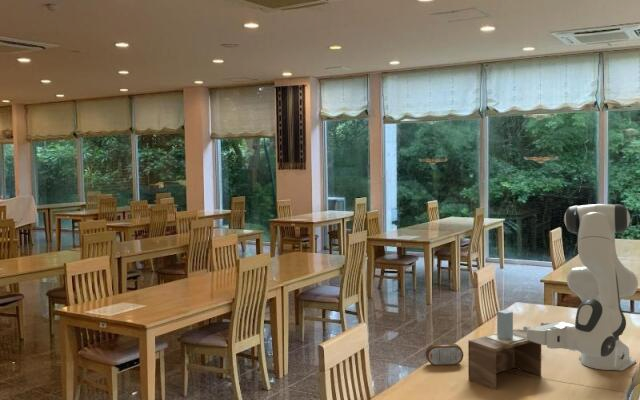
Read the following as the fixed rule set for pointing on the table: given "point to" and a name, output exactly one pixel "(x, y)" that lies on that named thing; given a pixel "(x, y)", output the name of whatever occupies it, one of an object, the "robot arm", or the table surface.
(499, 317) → the blue block
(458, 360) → the oval desk clock
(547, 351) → the table surface
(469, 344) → the small brown desk
